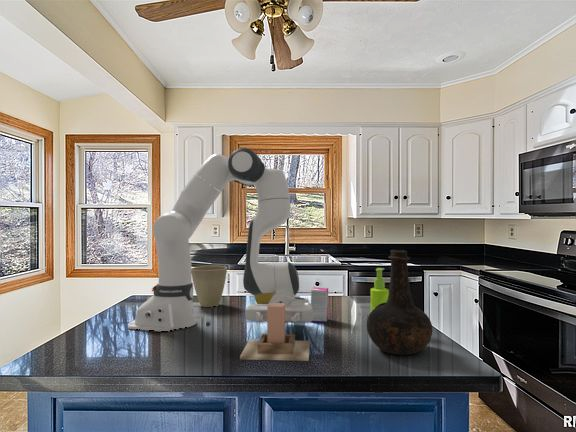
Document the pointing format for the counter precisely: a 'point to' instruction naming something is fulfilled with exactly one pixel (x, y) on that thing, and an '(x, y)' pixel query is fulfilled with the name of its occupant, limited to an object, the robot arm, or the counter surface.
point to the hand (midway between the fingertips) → (276, 319)
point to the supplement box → (319, 304)
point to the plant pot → (209, 284)
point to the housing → (276, 349)
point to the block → (276, 322)
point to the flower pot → (263, 298)
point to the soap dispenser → (378, 290)
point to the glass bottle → (399, 315)
